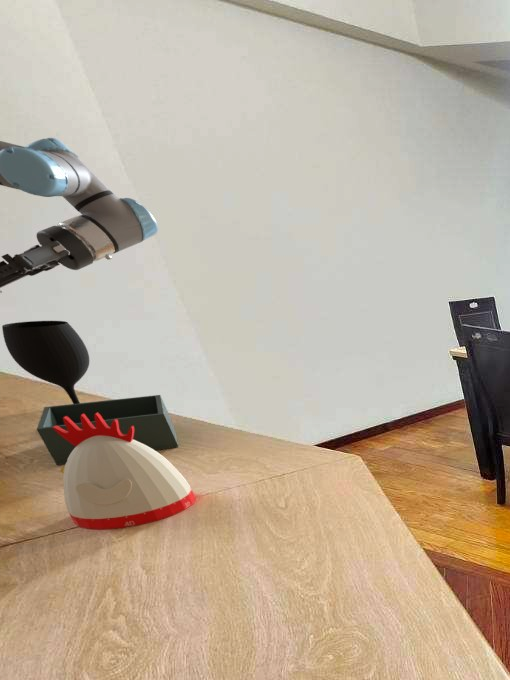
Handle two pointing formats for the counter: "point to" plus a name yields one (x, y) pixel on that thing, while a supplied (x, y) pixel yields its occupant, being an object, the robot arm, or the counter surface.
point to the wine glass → (48, 352)
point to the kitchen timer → (118, 478)
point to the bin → (110, 423)
